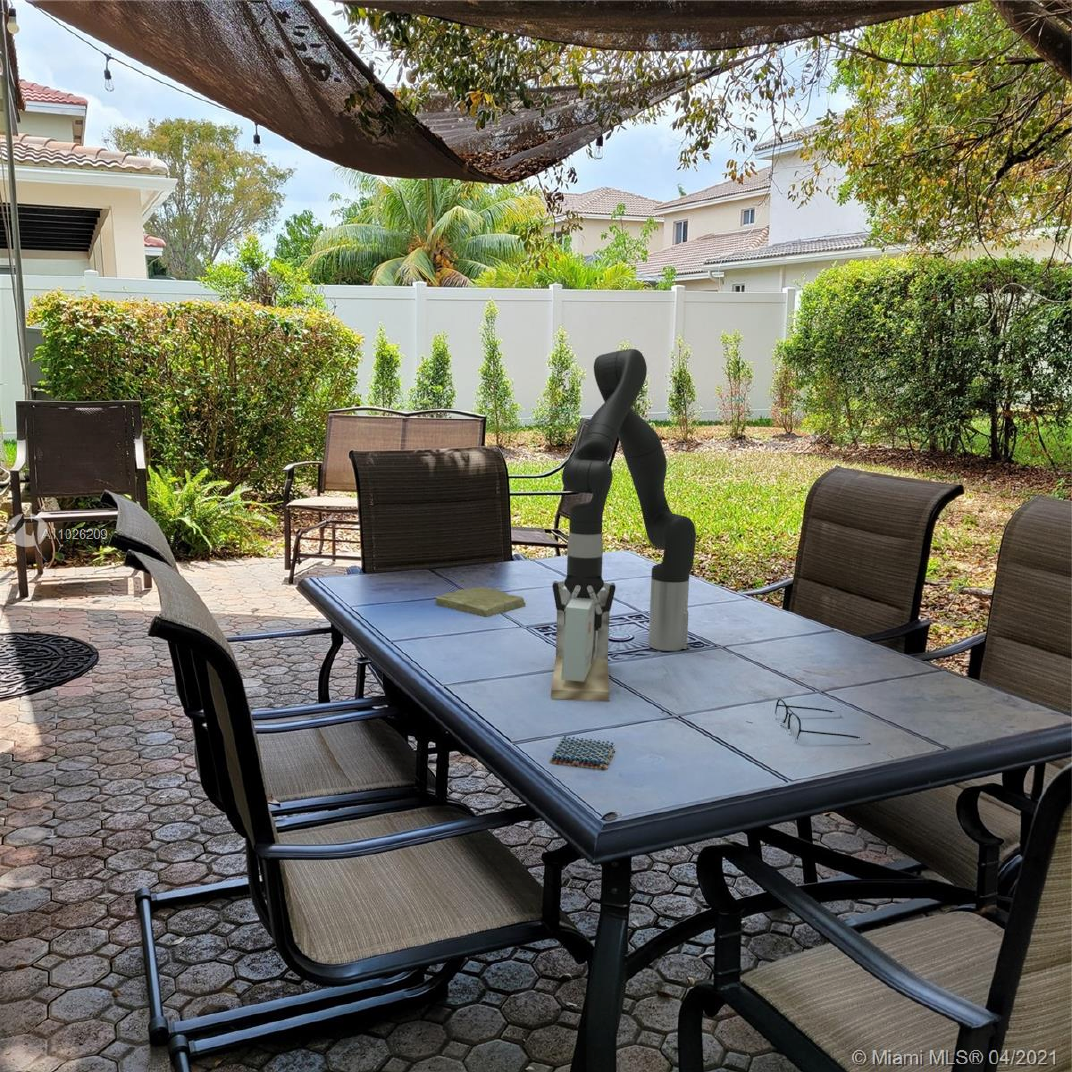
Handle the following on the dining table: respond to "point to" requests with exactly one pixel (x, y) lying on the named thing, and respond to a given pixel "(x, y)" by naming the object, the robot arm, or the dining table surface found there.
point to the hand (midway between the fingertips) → (582, 629)
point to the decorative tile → (481, 601)
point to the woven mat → (583, 753)
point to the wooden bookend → (597, 676)
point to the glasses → (800, 721)
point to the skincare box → (579, 638)
